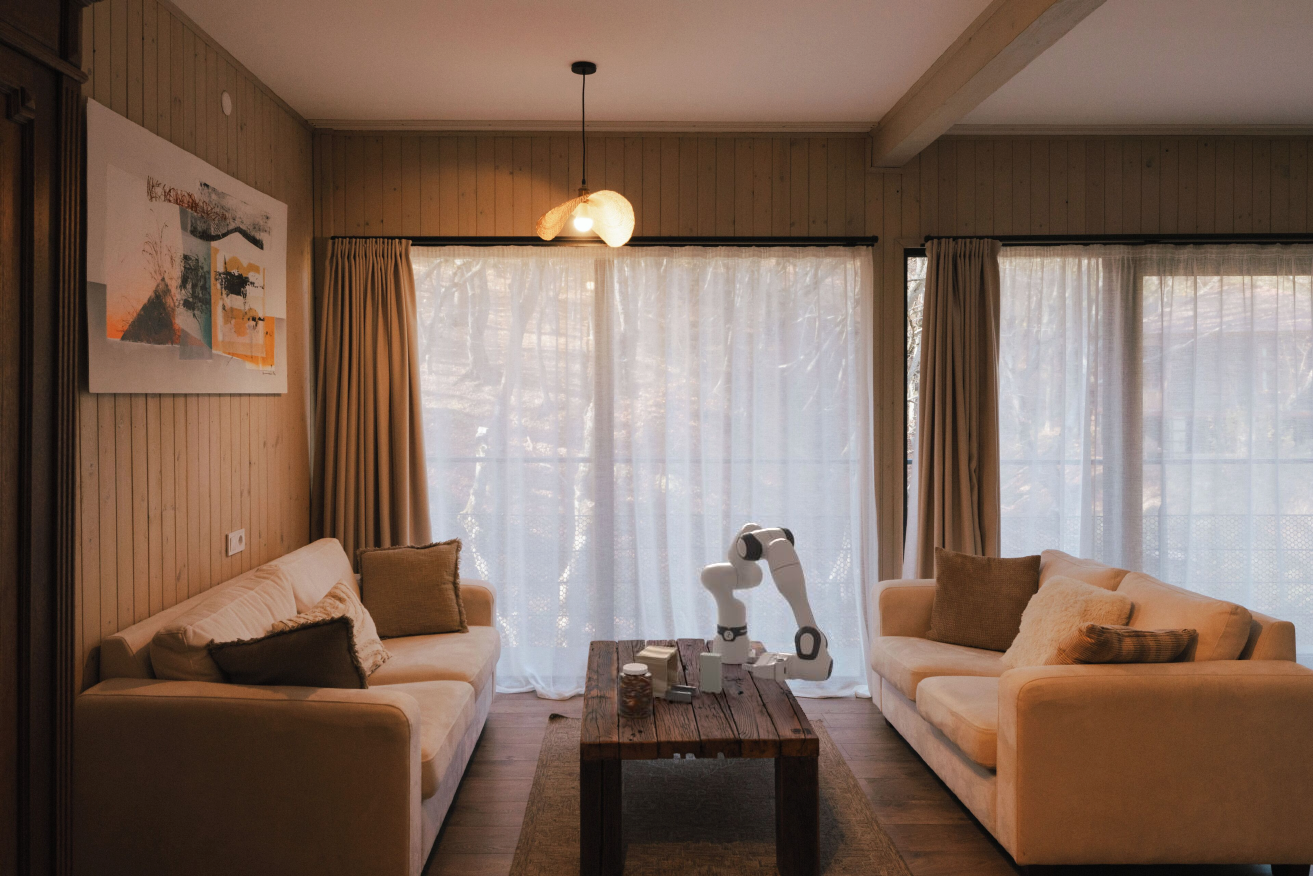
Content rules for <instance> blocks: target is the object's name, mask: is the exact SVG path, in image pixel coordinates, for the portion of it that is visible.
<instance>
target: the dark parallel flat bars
mask: <svg viewBox="0 0 1313 876" xmlns="http://www.w3.org/2000/svg"><path fill="white" fill-rule="evenodd" d="M692 697H697V686H690V685H689V686H688V685H679V684H678V685H671V691H668V690H666V691H665V699H666V700H665V699H664V700H665V701H670V700H673V702H680V701H683V702H682V703H692Z"/></svg>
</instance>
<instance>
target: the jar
mask: <svg viewBox="0 0 1313 876" xmlns="http://www.w3.org/2000/svg"><path fill="white" fill-rule="evenodd" d="M653 710H654V697H653V678H652V673H651V672H650V671H648V667H647V665H645V664H640V663H636V662H633V663H627V664H624V665H623V666H622V670H621V671H619V672H618V676H617V713H618V714H619V716H621V717H624V718H626V719H627V718H629V719H642V718H647V717H649V715H650V716H651V715H653V713H654V711H653Z"/></svg>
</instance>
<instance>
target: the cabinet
mask: <svg viewBox="0 0 1313 876" xmlns="http://www.w3.org/2000/svg"><path fill="white" fill-rule="evenodd" d="M635 663H640V664H645V665H647V667H648V671H650V672H651V673H652V678H653V698H655V697H660V698H659V699H664V698H665V691H666V690H668V691H671V685H679V648H678V647H674V646H673V647H672V646H671V647H670V646H661V645H659V646H658V645H648V646H646V647H645V648H644V649H643V650H641V651H640V652H638V653H637V654H635Z"/></svg>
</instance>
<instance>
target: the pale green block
mask: <svg viewBox="0 0 1313 876" xmlns="http://www.w3.org/2000/svg"><path fill="white" fill-rule="evenodd" d="M722 668H723V663H722V654H717V653H713V652H706V651H705V652H700V654H699V680H700V681H699V685H700V686H699V692H701V691H705V692H704V693H711V692H715V693H714V694H720V693H721V692H722V691H723V669H722ZM721 690H722V691H721Z"/></svg>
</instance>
